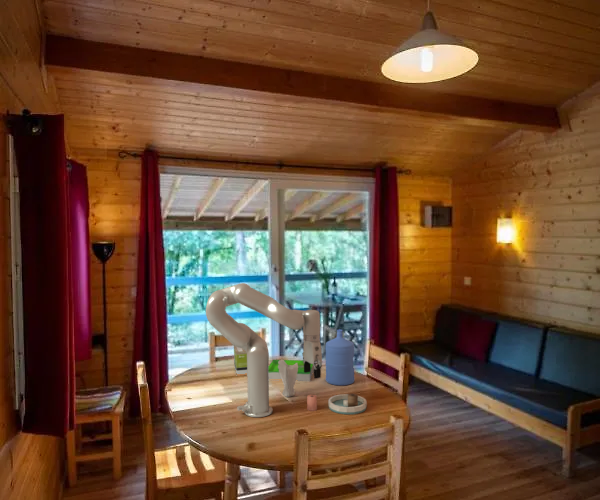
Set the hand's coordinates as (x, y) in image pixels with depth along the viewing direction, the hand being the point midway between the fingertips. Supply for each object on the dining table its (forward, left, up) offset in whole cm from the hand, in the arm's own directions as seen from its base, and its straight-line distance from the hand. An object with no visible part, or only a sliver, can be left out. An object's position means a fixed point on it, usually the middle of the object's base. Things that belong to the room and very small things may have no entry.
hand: (312, 375), depth 206 cm
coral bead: (0, 0, -16) cm, 16 cm away
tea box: (-9, +68, -16) cm, 71 cm away
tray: (+14, +53, -17) cm, 57 cm away
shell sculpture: (-2, +21, -16) cm, 27 cm away
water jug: (+32, +28, -16) cm, 45 cm away
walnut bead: (+15, -10, -15) cm, 24 cm away
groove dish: (+15, -5, -16) cm, 23 cm away
